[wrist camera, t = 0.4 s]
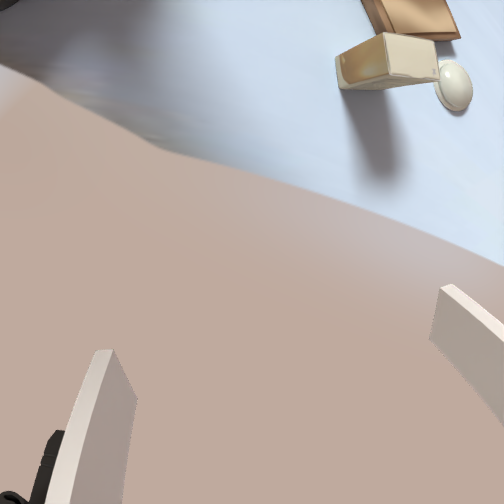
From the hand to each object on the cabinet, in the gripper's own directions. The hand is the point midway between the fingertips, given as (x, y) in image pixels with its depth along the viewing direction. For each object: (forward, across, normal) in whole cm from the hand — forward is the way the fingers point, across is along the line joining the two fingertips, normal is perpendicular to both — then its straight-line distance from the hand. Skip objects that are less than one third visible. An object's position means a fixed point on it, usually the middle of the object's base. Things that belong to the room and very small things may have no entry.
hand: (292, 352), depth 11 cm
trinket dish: (+27, +33, +14) cm, 45 cm away
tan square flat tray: (+26, +26, +27) cm, 46 cm away
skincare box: (+27, +17, +14) cm, 35 cm away
